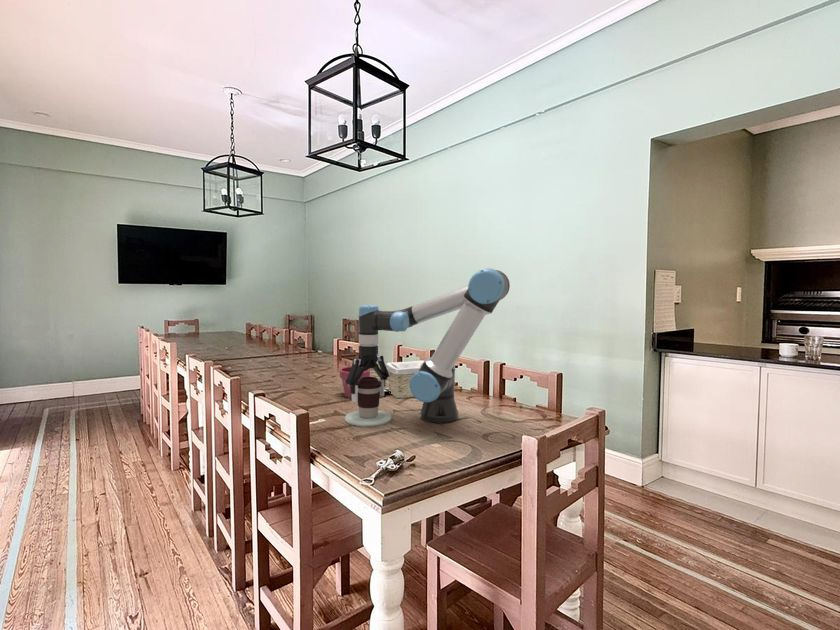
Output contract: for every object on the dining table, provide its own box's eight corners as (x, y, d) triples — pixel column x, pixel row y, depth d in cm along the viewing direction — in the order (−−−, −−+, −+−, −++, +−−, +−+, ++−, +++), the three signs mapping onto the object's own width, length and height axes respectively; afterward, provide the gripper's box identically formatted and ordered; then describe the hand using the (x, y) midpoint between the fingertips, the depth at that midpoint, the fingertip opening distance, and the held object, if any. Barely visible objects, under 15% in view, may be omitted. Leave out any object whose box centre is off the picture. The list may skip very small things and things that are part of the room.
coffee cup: (383, 412, 179) (383, 376, 178) (378, 420, 169) (378, 381, 168) (359, 411, 180) (359, 375, 179) (352, 419, 170) (353, 380, 169)
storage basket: (395, 400, 204) (395, 368, 203) (384, 391, 219) (384, 362, 218) (442, 395, 213) (443, 365, 212) (429, 388, 228) (429, 359, 227)
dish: (370, 409, 188) (370, 406, 187) (400, 419, 175) (400, 416, 175) (335, 419, 174) (335, 415, 174) (365, 430, 162) (365, 426, 162)
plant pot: (371, 398, 205) (372, 371, 204) (341, 400, 202) (341, 372, 201) (367, 391, 219) (367, 365, 218) (338, 392, 215) (338, 366, 214)
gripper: (385, 341, 184) (385, 391, 186) (336, 347, 166) (336, 402, 168) (398, 342, 179) (397, 394, 181) (348, 349, 161) (348, 406, 163)
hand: (368, 398), depth 174 cm, fingers open, 13 cm apart
